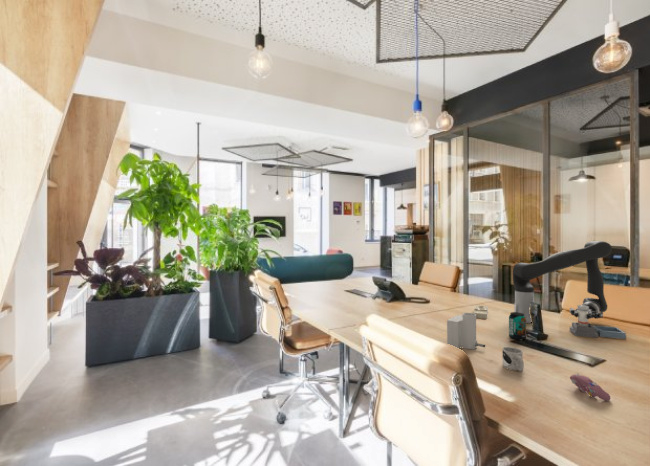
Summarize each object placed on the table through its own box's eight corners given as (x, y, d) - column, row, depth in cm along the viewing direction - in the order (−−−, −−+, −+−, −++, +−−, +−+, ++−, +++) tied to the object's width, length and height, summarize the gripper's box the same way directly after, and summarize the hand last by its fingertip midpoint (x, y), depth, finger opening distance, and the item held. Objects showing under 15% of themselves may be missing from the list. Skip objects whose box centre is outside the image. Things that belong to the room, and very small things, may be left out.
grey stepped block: (458, 339, 153) (458, 308, 153) (489, 347, 143) (489, 314, 143) (447, 346, 145) (446, 313, 144) (479, 355, 135) (479, 319, 134)
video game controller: (573, 391, 107) (564, 373, 106) (584, 384, 107) (575, 366, 107) (601, 407, 97) (592, 388, 97) (613, 400, 97) (604, 380, 97)
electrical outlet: (473, 311, 191) (475, 304, 207) (473, 318, 191) (475, 311, 207) (486, 312, 187) (487, 306, 203) (486, 319, 187) (488, 312, 203)
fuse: (579, 330, 158) (578, 306, 158) (576, 328, 162) (576, 304, 162) (590, 331, 156) (590, 307, 156) (587, 329, 160) (586, 305, 160)
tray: (600, 336, 155) (600, 330, 155) (592, 330, 164) (592, 325, 164) (625, 339, 151) (625, 333, 151) (616, 332, 160) (616, 327, 160)
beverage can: (528, 341, 150) (528, 315, 150) (512, 340, 151) (512, 315, 151) (522, 336, 157) (522, 312, 157) (506, 335, 158) (506, 311, 158)
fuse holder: (575, 335, 157) (575, 326, 157) (569, 330, 165) (569, 321, 165) (598, 337, 153) (597, 328, 153) (591, 332, 161) (591, 323, 161)
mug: (499, 363, 126) (499, 346, 126) (516, 363, 126) (516, 346, 126) (513, 375, 116) (513, 356, 116) (531, 375, 116) (531, 356, 116)
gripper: (572, 300, 174) (564, 306, 162) (606, 305, 163) (600, 311, 152) (572, 314, 174) (564, 320, 163) (606, 319, 163) (600, 326, 152)
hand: (581, 316), depth 157 cm, fingers closed on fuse, 4 cm apart
